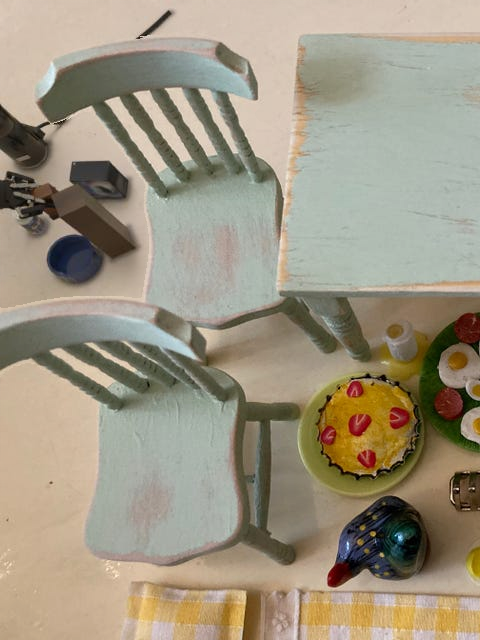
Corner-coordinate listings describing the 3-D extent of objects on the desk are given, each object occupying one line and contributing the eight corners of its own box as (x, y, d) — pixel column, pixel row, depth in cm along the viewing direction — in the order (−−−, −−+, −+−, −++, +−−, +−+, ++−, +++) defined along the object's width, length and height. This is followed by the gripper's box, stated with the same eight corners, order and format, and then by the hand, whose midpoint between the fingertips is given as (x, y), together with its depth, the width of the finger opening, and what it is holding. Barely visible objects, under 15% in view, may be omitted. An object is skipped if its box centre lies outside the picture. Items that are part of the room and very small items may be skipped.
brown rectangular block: (104, 238, 192) (50, 195, 169) (127, 228, 193) (77, 183, 170) (112, 259, 190) (59, 217, 167) (136, 247, 191) (86, 205, 168)
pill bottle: (42, 236, 193) (23, 222, 185) (27, 233, 193) (6, 219, 185) (49, 221, 194) (29, 206, 186) (33, 218, 195) (13, 203, 187)
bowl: (68, 237, 193) (58, 229, 188) (109, 247, 191) (100, 240, 187) (49, 277, 189) (38, 270, 185) (90, 288, 188) (81, 281, 184)
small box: (89, 201, 196) (67, 181, 186) (92, 180, 198) (70, 160, 187) (126, 199, 196) (106, 180, 185) (129, 179, 197) (109, 159, 187)
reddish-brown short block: (48, 208, 182) (26, 191, 173) (70, 199, 183) (49, 181, 174) (53, 220, 181) (31, 203, 172) (75, 211, 181) (53, 193, 173)
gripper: (-11, 206, 160) (70, 209, 173) (-28, 159, 164) (52, 165, 177) (-17, 226, 165) (62, 228, 178) (-33, 180, 168) (46, 185, 181)
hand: (57, 197), depth 177 cm, fingers closed on reddish-brown short block, 3 cm apart
